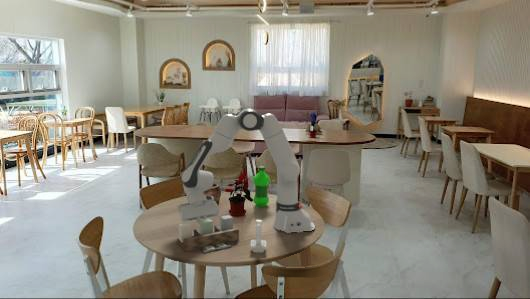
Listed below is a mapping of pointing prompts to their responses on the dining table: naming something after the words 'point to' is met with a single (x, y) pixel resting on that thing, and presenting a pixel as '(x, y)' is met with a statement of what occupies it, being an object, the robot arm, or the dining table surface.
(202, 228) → the sage key
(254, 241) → the white upright post stand
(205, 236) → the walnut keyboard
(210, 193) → the decorative planter
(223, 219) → the pale blue upright block
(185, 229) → the cream rectangular block
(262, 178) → the plastic bottle
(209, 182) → the robot arm
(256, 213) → the dining table surface
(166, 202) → the dining table surface
